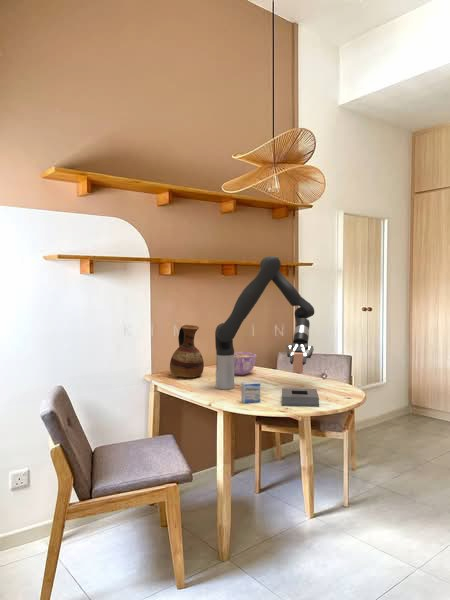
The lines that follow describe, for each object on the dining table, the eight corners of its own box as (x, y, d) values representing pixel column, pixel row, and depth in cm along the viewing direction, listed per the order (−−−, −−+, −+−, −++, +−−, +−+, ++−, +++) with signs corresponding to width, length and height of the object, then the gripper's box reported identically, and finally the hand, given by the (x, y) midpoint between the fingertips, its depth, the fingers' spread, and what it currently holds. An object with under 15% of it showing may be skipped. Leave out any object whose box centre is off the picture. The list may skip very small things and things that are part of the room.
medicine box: (244, 403, 201) (244, 384, 201) (241, 401, 206) (241, 382, 205) (260, 402, 203) (260, 383, 203) (257, 399, 208) (257, 381, 207)
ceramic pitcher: (181, 381, 247) (180, 327, 246) (163, 375, 264) (163, 324, 263) (210, 377, 259) (210, 325, 258) (192, 371, 275) (191, 322, 274)
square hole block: (281, 405, 198) (281, 396, 198) (281, 396, 214) (281, 388, 213) (318, 406, 196) (318, 397, 196) (316, 397, 212) (316, 388, 211)
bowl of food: (251, 378, 255) (251, 357, 254) (218, 376, 261) (218, 356, 261) (260, 371, 274) (260, 352, 273) (228, 369, 280) (228, 351, 280)
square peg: (293, 372, 218) (293, 353, 218) (293, 370, 223) (293, 352, 222) (302, 372, 218) (303, 354, 217) (302, 370, 222) (302, 352, 222)
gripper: (286, 331, 229) (282, 358, 218) (315, 332, 225) (312, 359, 213) (288, 340, 234) (283, 367, 223) (315, 341, 230) (313, 369, 219)
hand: (297, 363), depth 218 cm, fingers closed on square peg, 5 cm apart
